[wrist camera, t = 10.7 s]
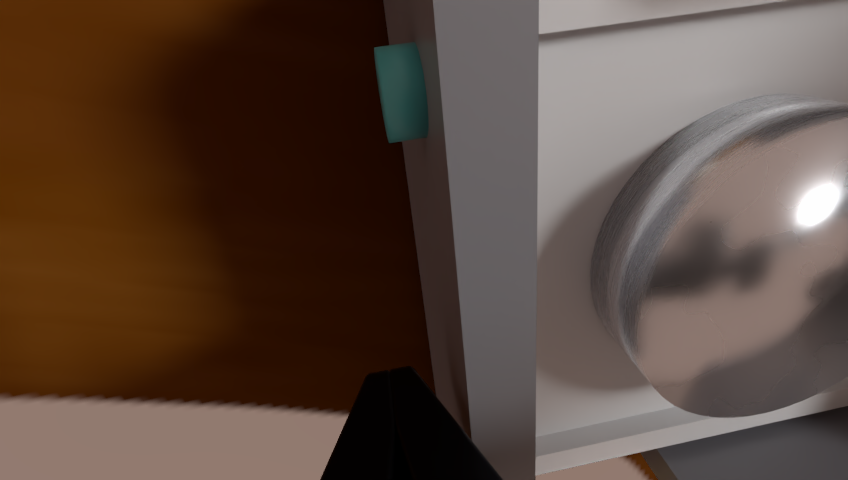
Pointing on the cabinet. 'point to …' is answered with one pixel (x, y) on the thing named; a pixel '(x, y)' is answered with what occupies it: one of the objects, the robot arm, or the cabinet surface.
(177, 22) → the cabinet surface
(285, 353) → the cabinet surface
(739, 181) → the disc
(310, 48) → the cabinet surface
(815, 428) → the housing
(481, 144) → the tray
